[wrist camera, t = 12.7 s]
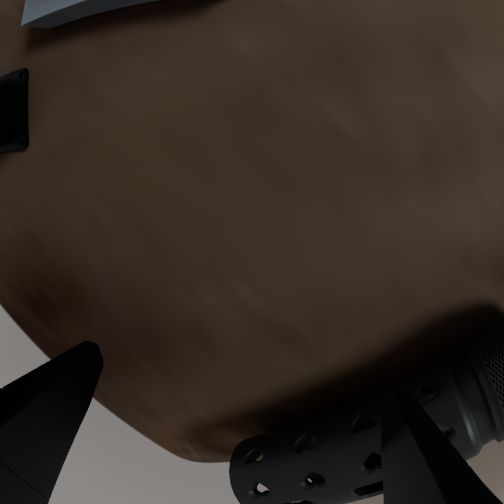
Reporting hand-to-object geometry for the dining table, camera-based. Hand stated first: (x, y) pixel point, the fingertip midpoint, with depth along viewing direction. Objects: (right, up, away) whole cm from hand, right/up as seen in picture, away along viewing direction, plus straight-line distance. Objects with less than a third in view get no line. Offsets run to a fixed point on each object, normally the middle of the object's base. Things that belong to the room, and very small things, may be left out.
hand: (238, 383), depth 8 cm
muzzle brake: (+13, -8, +16) cm, 22 cm away
